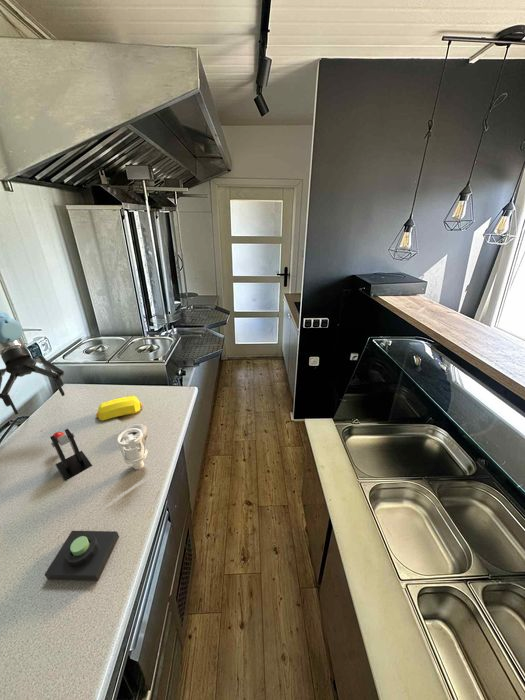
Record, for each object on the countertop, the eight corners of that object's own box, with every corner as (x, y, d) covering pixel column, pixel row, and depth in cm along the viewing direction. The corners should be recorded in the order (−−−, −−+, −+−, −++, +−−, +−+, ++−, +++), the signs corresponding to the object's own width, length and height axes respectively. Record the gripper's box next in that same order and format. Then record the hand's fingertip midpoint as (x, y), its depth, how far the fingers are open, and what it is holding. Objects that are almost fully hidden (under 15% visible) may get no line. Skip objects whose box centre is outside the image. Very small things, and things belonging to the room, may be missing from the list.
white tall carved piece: (131, 480, 90) (119, 444, 83) (125, 466, 95) (114, 431, 88) (153, 469, 94) (144, 434, 87) (147, 456, 99) (137, 422, 92)
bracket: (56, 466, 96) (41, 435, 90) (82, 452, 101) (70, 422, 95) (66, 483, 89) (51, 450, 83) (93, 467, 95) (80, 436, 89)
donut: (132, 426, 113) (113, 444, 104) (130, 419, 111) (111, 436, 103) (153, 431, 110) (136, 449, 101) (152, 424, 109) (134, 442, 100)
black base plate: (47, 579, 66) (41, 570, 64) (74, 535, 75) (69, 526, 73) (98, 581, 65) (93, 571, 64) (119, 536, 74) (115, 526, 73)
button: (69, 556, 67) (66, 551, 66) (78, 540, 70) (76, 535, 69) (83, 556, 67) (81, 552, 66) (92, 540, 70) (90, 536, 69)
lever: (54, 444, 98) (49, 434, 98) (65, 438, 101) (61, 429, 100) (59, 448, 88) (54, 438, 87) (72, 442, 90) (67, 432, 90)
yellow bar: (97, 414, 120) (96, 425, 114) (93, 401, 117) (91, 411, 111) (143, 403, 127) (144, 413, 120) (139, 390, 124) (140, 399, 117)
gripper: (55, 345, 112) (80, 391, 109) (-31, 369, 95) (-4, 424, 93) (54, 336, 106) (80, 384, 103) (-37, 360, 90) (-9, 418, 87)
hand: (41, 403), depth 98 cm, fingers open, 13 cm apart
